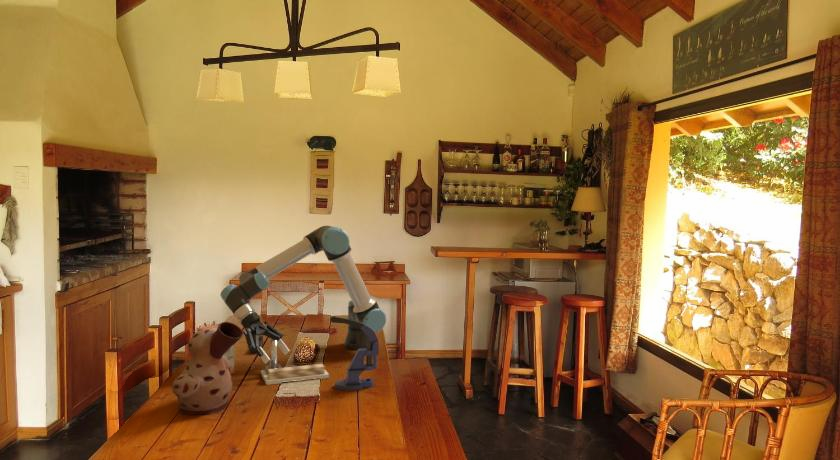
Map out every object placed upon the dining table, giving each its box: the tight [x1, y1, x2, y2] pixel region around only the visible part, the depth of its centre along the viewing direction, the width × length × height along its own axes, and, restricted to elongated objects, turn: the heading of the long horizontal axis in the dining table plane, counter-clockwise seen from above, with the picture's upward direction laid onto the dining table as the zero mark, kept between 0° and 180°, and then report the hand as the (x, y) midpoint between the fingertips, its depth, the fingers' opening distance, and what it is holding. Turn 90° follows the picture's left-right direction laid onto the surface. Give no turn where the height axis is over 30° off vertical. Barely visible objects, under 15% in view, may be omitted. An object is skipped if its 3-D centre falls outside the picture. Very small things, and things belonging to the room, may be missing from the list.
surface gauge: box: [264, 339, 283, 375], centre depth 233 cm, size 6×8×13 cm
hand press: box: [330, 315, 380, 391], centre depth 223 cm, size 19×9×28 cm, turn 103°
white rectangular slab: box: [260, 369, 330, 386], centre depth 234 cm, size 25×14×2 cm, turn 114°
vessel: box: [171, 321, 244, 415], centre depth 199 cm, size 29×22×30 cm
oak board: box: [268, 363, 326, 380], centre depth 231 cm, size 22×4×3 cm, turn 114°
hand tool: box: [249, 335, 264, 355], centre depth 273 cm, size 19×4×5 cm, turn 2°
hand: (278, 357), depth 233 cm, fingers open, 13 cm apart
